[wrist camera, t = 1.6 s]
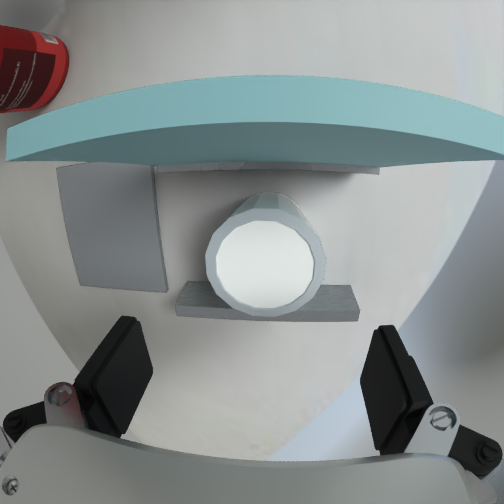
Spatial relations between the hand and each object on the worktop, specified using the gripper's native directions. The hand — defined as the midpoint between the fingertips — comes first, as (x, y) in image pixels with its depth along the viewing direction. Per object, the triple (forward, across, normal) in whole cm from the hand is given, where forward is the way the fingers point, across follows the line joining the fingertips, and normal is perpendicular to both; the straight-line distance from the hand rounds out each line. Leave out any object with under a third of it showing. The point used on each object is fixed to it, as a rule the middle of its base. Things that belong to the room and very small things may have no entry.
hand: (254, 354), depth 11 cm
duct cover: (+3, 0, -7) cm, 8 cm away
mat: (+13, +14, -1) cm, 19 cm away
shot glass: (+13, 0, -1) cm, 13 cm away
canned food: (+13, +21, -17) cm, 30 cm away
